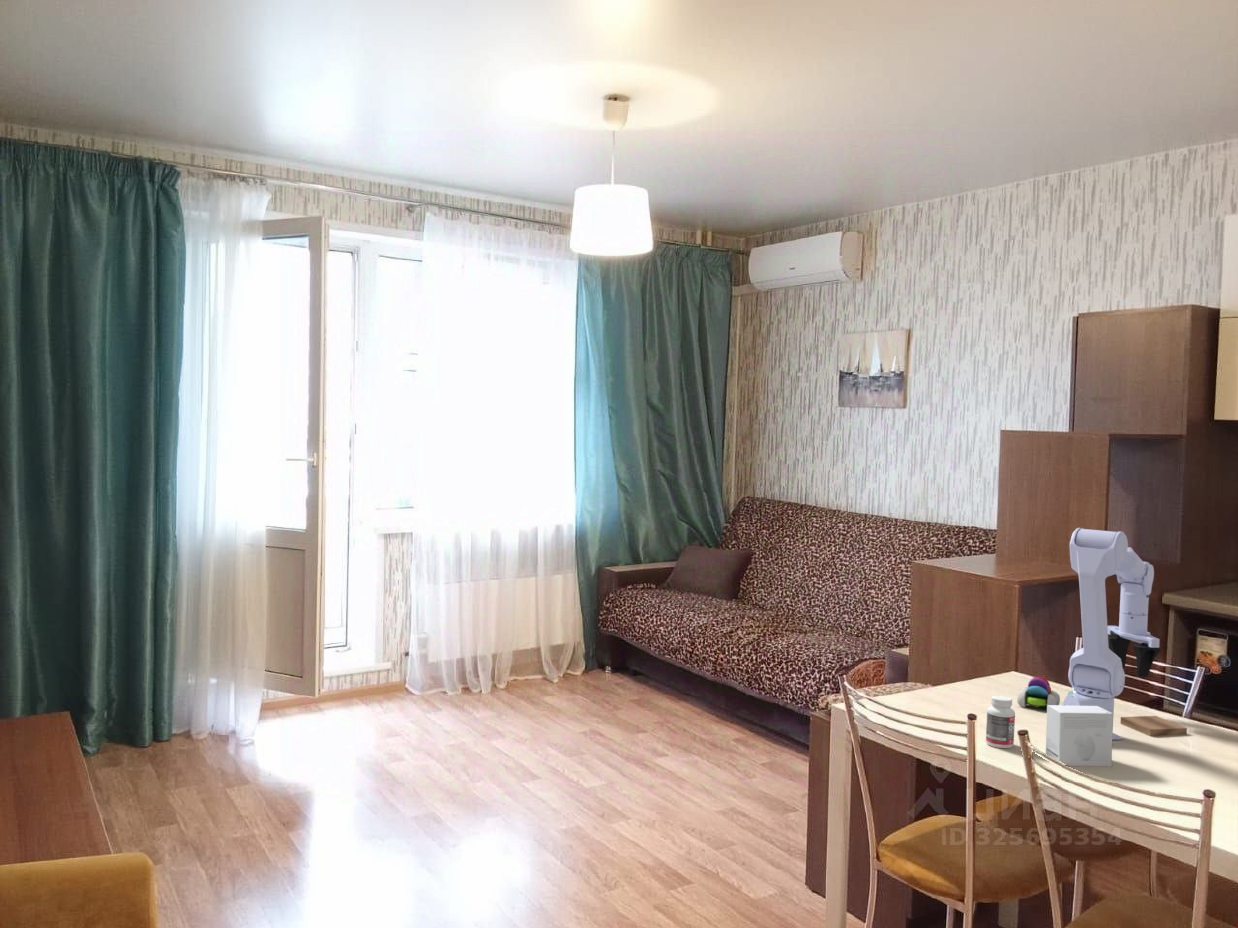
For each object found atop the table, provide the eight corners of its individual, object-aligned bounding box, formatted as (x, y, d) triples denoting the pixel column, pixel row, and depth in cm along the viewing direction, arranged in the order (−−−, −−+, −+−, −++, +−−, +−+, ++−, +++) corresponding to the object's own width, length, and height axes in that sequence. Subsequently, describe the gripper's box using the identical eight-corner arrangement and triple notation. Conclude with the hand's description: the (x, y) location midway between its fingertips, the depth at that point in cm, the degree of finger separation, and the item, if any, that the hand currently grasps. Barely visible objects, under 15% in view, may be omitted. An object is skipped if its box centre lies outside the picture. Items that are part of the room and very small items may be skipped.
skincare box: (1095, 756, 197) (1098, 704, 197) (1112, 767, 191) (1114, 713, 191) (1043, 755, 197) (1046, 703, 197) (1058, 766, 191) (1061, 712, 190)
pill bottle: (1014, 750, 199) (1016, 702, 199) (986, 747, 201) (988, 699, 201) (1012, 742, 205) (1014, 695, 204) (985, 739, 206) (987, 693, 206)
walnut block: (1149, 740, 210) (1150, 729, 210) (1120, 727, 219) (1120, 716, 219) (1186, 739, 212) (1186, 727, 212) (1155, 726, 221) (1156, 715, 221)
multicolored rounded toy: (1060, 706, 234) (1062, 675, 234) (1054, 715, 226) (1055, 684, 225) (1022, 699, 238) (1024, 670, 238) (1015, 709, 230) (1016, 678, 230)
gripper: (1172, 619, 218) (1169, 679, 219) (1126, 606, 233) (1124, 664, 233) (1144, 619, 217) (1141, 680, 218) (1100, 607, 231) (1097, 664, 232)
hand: (1130, 672), depth 225 cm, fingers open, 7 cm apart
